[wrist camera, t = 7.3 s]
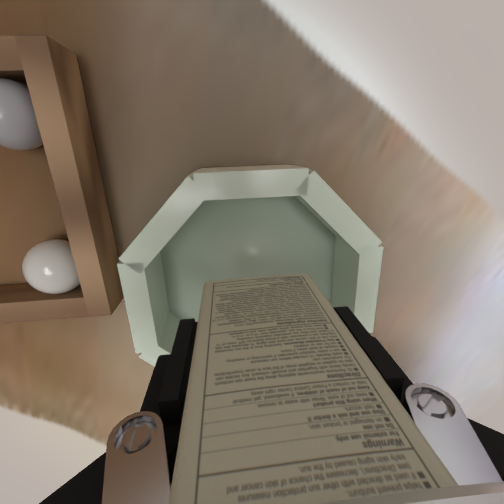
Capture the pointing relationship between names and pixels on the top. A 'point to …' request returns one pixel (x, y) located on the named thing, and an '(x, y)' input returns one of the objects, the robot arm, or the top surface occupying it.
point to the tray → (64, 183)
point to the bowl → (245, 247)
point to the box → (290, 405)
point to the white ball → (51, 267)
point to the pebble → (17, 117)
